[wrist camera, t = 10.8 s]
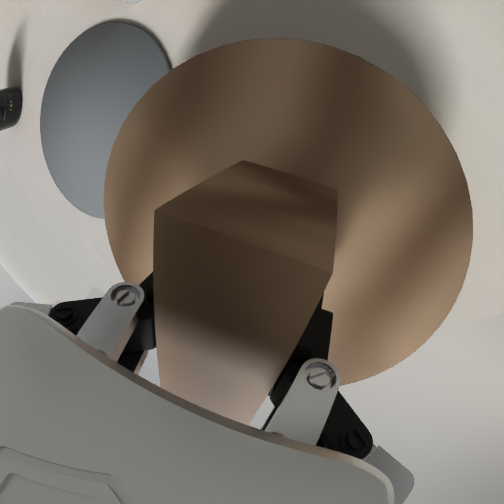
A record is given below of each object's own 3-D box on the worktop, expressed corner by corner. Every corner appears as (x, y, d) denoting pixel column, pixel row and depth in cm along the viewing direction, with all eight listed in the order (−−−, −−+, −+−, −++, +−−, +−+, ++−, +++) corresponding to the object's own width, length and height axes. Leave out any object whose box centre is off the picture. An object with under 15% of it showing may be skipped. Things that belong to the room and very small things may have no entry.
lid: (518, 149, 7) (617, 201, 1) (355, 402, 18) (344, 483, 12) (131, 36, 10) (19, 29, 4) (123, 311, 20) (72, 369, 15)
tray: (200, 13, 15) (197, 11, 14) (164, 242, 27) (161, 245, 26) (53, 40, 18) (50, 40, 17) (46, 193, 30) (43, 195, 29)
